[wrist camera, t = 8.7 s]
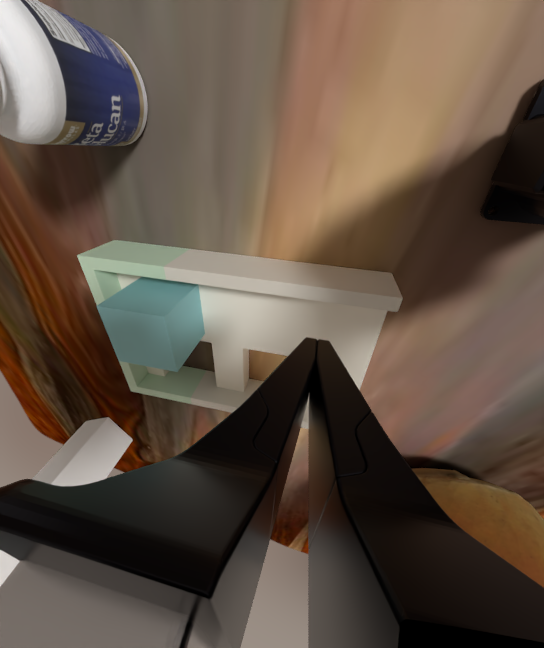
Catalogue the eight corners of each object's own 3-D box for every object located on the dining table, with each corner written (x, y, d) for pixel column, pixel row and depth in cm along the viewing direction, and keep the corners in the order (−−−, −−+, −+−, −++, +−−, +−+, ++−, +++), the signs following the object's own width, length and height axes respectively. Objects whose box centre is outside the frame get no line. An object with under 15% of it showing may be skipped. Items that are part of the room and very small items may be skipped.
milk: (108, 416, 40) (-75, 630, 22) (134, 439, 43) (-12, 648, 25) (85, 420, 42) (-98, 617, 25) (110, 442, 45) (-38, 634, 27)
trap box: (391, 272, 19) (403, 298, 16) (348, 403, 28) (349, 437, 24) (114, 239, 22) (76, 255, 19) (152, 365, 31) (130, 391, 28)
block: (198, 283, 21) (164, 316, 17) (205, 333, 23) (177, 372, 19) (142, 276, 21) (96, 306, 17) (155, 325, 24) (118, 360, 20)
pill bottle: (134, 165, 19) (-16, 176, 11) (64, 105, 17) (-163, 67, 9) (164, 84, 16) (-13, 18, 8) (82, 6, 14) (-227, -169, 7)
